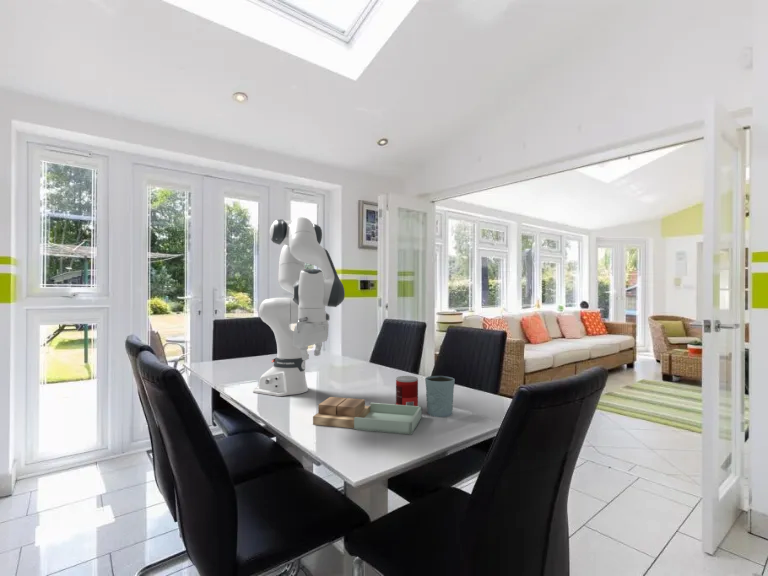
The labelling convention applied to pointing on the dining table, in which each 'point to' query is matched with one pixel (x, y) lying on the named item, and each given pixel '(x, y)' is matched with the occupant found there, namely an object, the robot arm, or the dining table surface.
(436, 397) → the teal plant pot
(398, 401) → the canned food
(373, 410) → the tray
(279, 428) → the dining table surface
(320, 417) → the board
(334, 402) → the tile
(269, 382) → the robot arm
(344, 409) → the tile
